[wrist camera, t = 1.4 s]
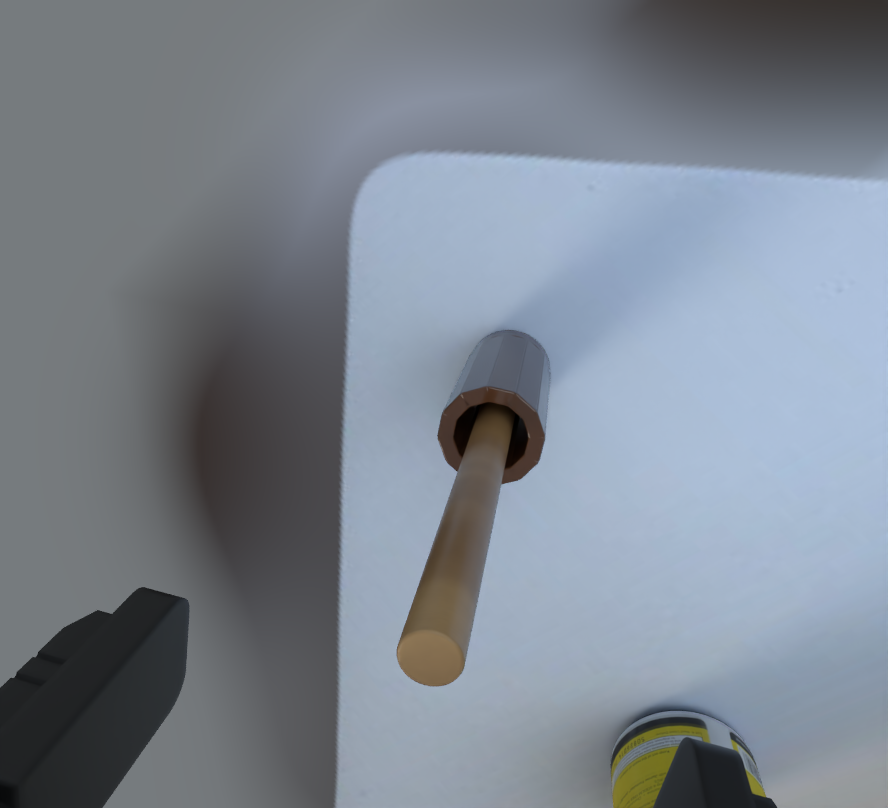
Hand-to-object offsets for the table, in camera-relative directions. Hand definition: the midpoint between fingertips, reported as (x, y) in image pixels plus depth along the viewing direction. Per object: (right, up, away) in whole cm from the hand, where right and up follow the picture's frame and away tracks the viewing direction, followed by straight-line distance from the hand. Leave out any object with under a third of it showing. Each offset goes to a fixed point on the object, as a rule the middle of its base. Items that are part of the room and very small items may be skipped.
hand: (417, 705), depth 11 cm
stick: (+3, +6, +16) cm, 17 cm away
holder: (+3, +6, +16) cm, 18 cm away
